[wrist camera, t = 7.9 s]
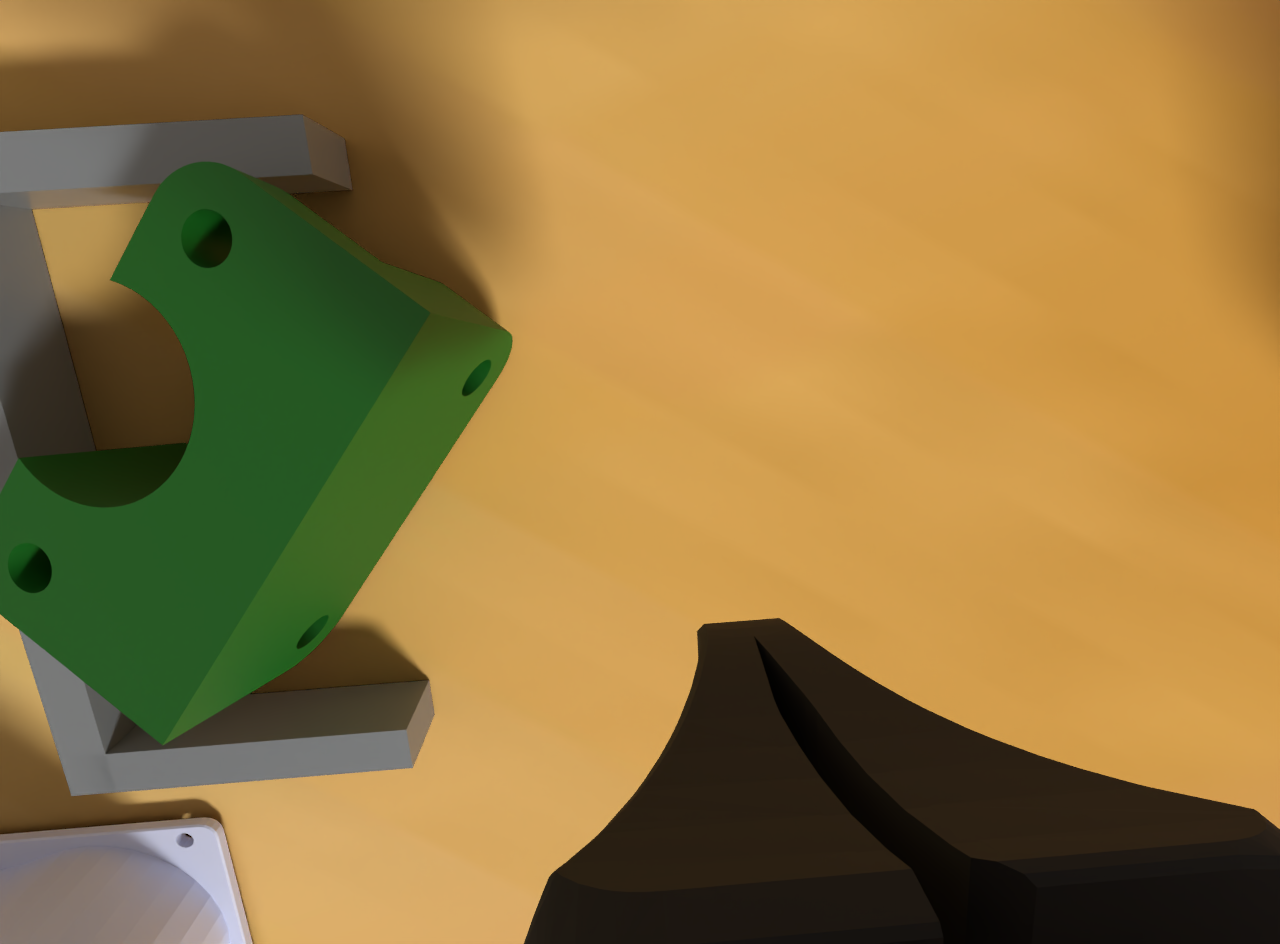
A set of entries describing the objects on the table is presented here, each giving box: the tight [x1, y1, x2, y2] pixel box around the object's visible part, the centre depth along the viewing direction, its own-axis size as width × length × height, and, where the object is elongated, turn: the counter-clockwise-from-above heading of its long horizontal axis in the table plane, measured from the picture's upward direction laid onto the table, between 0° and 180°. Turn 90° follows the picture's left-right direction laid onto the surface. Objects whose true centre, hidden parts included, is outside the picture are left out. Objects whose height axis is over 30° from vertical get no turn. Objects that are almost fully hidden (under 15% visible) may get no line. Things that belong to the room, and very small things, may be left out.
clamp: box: [0, 162, 512, 745], centre depth 17 cm, size 12×6×9 cm, turn 139°
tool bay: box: [0, 115, 435, 796], centre depth 18 cm, size 9×16×2 cm, turn 4°
